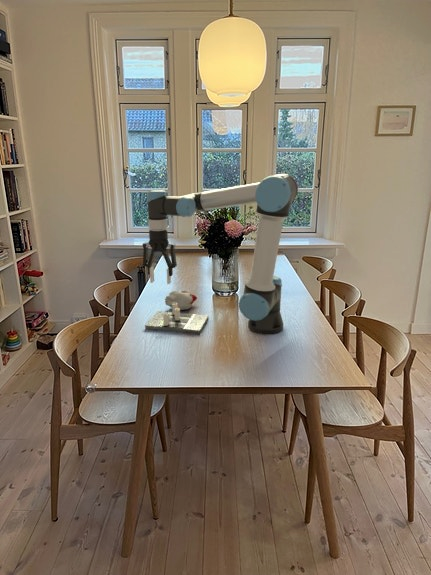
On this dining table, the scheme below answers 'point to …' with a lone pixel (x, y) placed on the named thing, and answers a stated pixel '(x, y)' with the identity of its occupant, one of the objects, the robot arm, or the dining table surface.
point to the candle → (180, 299)
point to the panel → (178, 323)
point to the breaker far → (174, 307)
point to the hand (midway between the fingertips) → (160, 282)
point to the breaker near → (166, 319)
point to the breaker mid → (177, 314)
